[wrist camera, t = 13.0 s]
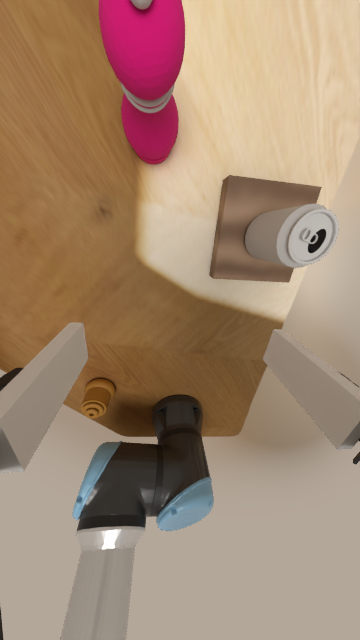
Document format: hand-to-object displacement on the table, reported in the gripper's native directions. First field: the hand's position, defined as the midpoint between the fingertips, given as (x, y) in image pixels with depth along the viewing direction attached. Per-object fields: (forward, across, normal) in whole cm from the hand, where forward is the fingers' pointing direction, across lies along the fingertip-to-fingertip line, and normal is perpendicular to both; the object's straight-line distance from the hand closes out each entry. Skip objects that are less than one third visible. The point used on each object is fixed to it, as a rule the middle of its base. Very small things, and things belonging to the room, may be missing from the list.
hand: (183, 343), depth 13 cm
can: (+23, -17, -8) cm, 30 cm away
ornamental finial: (+27, +16, +32) cm, 44 cm away
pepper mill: (+26, +4, -20) cm, 33 cm away
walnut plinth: (+26, -17, -8) cm, 32 cm away
